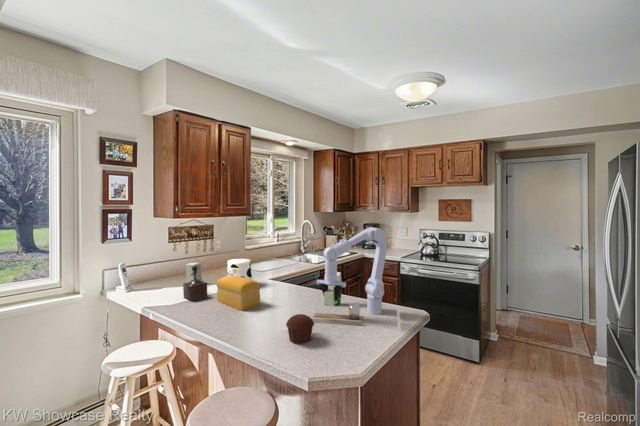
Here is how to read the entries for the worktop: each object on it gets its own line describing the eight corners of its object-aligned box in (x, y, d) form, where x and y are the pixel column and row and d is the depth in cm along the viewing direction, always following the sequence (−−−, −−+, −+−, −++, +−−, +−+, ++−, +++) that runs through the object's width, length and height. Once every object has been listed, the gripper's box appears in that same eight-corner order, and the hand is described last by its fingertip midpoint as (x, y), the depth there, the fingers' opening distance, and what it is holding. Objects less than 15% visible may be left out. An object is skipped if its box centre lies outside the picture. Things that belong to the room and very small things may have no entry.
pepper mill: (209, 298, 192) (208, 268, 191) (191, 302, 183) (190, 271, 183) (196, 293, 202) (196, 264, 202) (179, 297, 194) (178, 267, 193)
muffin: (314, 333, 138) (314, 311, 138) (314, 345, 127) (314, 320, 127) (286, 334, 138) (286, 311, 137) (284, 345, 127) (284, 320, 126)
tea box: (324, 304, 152) (324, 292, 152) (329, 301, 158) (329, 289, 158) (333, 305, 151) (333, 293, 150) (337, 302, 156) (337, 290, 156)
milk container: (221, 289, 211) (220, 262, 211) (235, 283, 228) (235, 257, 227) (244, 291, 206) (243, 263, 206) (257, 284, 223) (256, 259, 222)
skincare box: (202, 285, 220) (201, 262, 220) (193, 288, 214) (192, 264, 214) (194, 284, 225) (194, 261, 224) (185, 286, 219) (185, 263, 218)
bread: (216, 302, 183) (216, 276, 183) (235, 297, 193) (235, 272, 193) (241, 311, 167) (241, 283, 167) (261, 305, 177) (260, 278, 176)
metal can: (349, 317, 155) (349, 302, 154) (360, 317, 154) (360, 303, 153) (348, 320, 150) (348, 306, 150) (359, 321, 149) (359, 306, 148)
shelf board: (315, 315, 161) (315, 309, 161) (363, 318, 156) (363, 312, 156) (309, 324, 149) (309, 317, 149) (361, 328, 144) (361, 321, 144)
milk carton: (326, 302, 181) (326, 267, 181) (342, 303, 180) (342, 268, 179) (323, 307, 173) (323, 270, 172) (340, 308, 171) (339, 271, 170)
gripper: (313, 272, 153) (314, 300, 154) (342, 275, 147) (342, 304, 147) (320, 269, 160) (320, 296, 160) (347, 272, 153) (347, 300, 154)
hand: (331, 300), depth 154 cm, fingers closed on tea box, 4 cm apart
